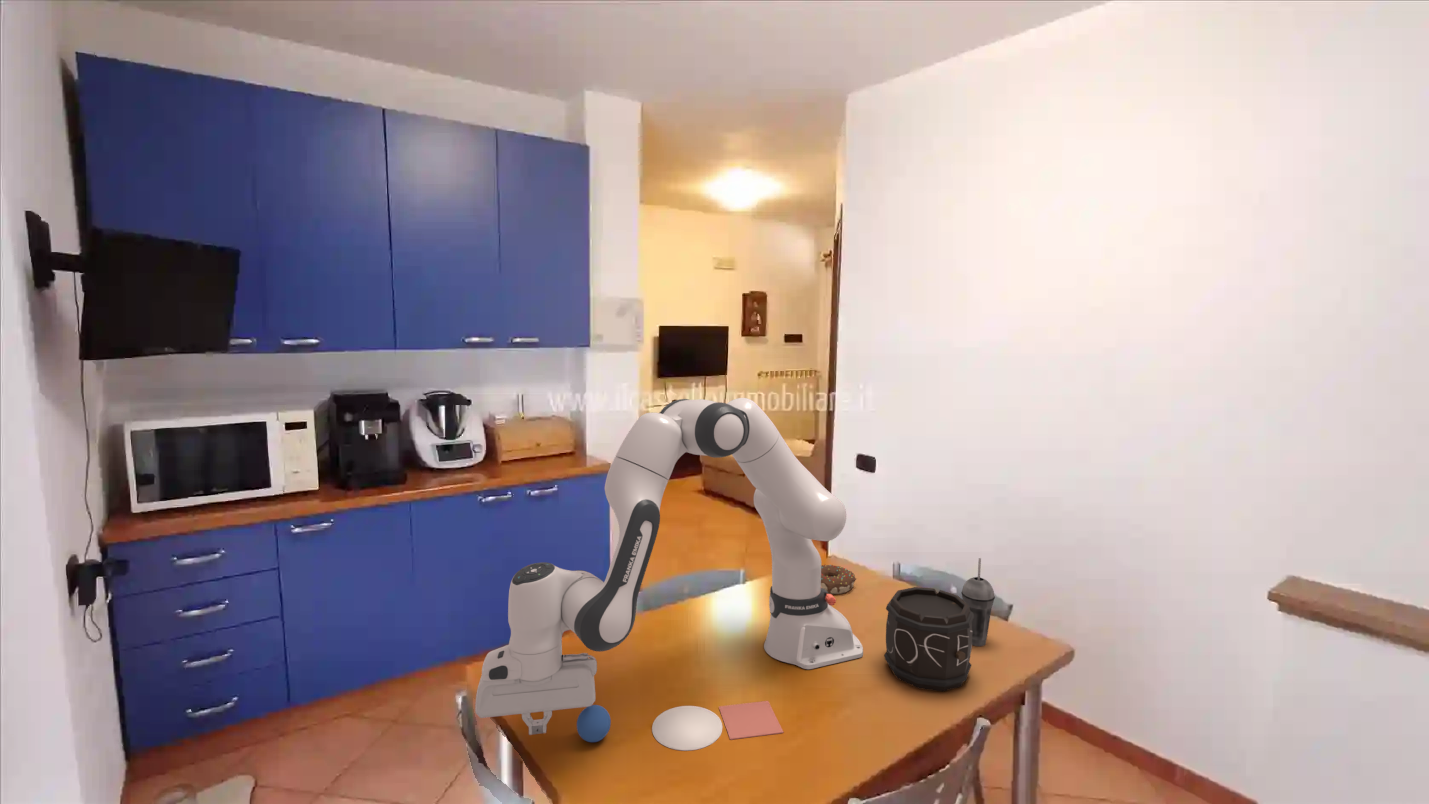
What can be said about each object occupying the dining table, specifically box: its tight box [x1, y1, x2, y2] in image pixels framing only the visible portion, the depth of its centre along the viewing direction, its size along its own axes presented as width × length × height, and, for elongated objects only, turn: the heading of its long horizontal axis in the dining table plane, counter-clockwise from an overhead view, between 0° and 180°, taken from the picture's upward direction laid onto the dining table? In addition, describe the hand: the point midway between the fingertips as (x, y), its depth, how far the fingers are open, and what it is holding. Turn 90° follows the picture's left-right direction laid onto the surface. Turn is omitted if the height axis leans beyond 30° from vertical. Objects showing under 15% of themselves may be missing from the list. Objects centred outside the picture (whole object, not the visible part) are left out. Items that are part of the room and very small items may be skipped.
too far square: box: [718, 700, 784, 741], centre depth 121 cm, size 10×10×1 cm
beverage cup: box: [961, 557, 996, 647], centre depth 150 cm, size 7×7×20 cm
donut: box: [821, 564, 857, 595], centre depth 183 cm, size 14×14×5 cm
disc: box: [651, 705, 723, 752], centre depth 118 cm, size 13×13×1 cm
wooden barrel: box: [883, 586, 974, 692], centre depth 137 cm, size 18×18×16 cm
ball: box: [576, 704, 612, 743], centre depth 115 cm, size 6×6×6 cm
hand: (537, 732), depth 113 cm, fingers closed
